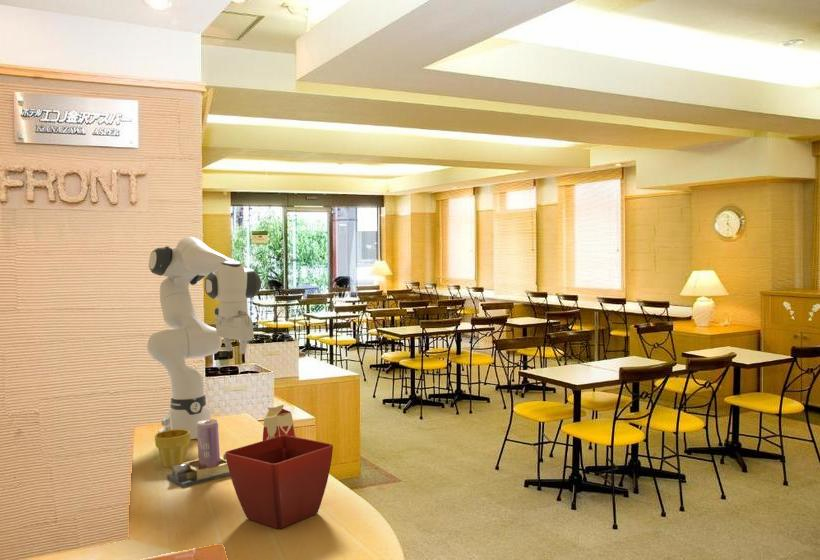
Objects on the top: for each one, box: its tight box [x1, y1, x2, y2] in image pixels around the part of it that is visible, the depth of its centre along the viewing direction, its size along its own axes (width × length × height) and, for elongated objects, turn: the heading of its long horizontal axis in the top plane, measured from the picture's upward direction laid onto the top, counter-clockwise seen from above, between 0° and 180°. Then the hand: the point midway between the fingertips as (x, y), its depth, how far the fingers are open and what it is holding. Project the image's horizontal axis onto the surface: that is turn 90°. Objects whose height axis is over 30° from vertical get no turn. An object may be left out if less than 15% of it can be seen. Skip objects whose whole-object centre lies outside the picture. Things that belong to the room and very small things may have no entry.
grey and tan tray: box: [166, 453, 230, 488], centre depth 203 cm, size 12×21×5 cm, turn 131°
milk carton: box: [262, 404, 297, 441], centre depth 204 cm, size 9×9×20 cm
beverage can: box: [196, 418, 221, 470], centre depth 201 cm, size 6×6×15 cm
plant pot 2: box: [224, 435, 334, 530], centre depth 168 cm, size 19×19×17 cm
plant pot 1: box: [154, 429, 191, 468], centre depth 214 cm, size 10×10×10 cm
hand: (235, 352), depth 226 cm, fingers open, 8 cm apart
